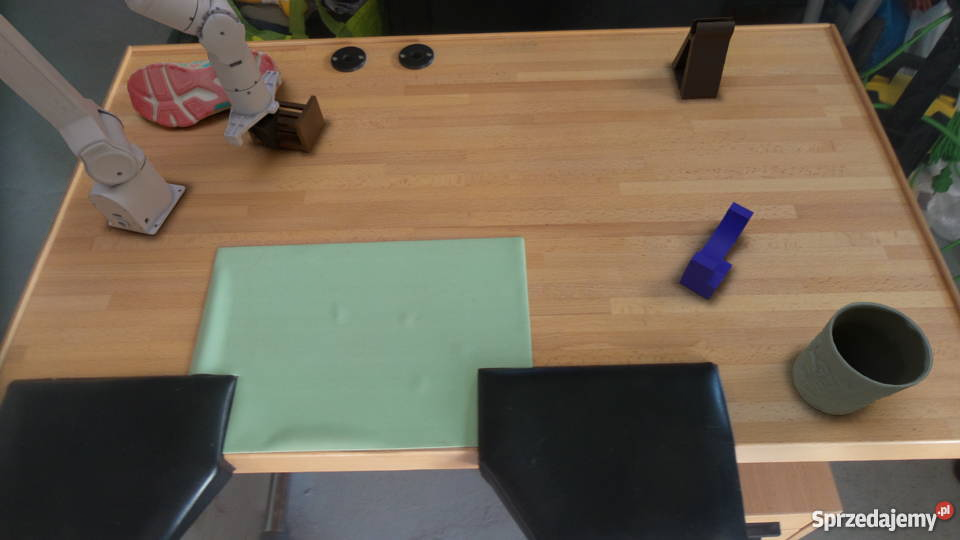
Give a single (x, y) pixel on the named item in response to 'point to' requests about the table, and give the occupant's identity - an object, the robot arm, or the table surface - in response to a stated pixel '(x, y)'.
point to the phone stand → (703, 57)
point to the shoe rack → (299, 124)
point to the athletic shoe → (183, 90)
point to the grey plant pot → (861, 358)
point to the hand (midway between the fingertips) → (272, 145)
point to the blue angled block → (716, 253)
